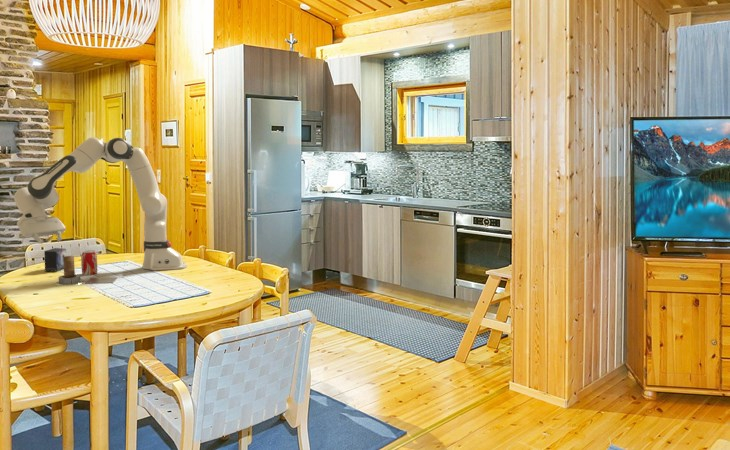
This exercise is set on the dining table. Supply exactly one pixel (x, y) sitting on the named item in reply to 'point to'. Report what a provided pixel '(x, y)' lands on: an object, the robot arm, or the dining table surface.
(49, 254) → the small box
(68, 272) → the peg
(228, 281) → the dining table surface
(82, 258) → the soda can
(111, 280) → the pad
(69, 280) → the ring stand
